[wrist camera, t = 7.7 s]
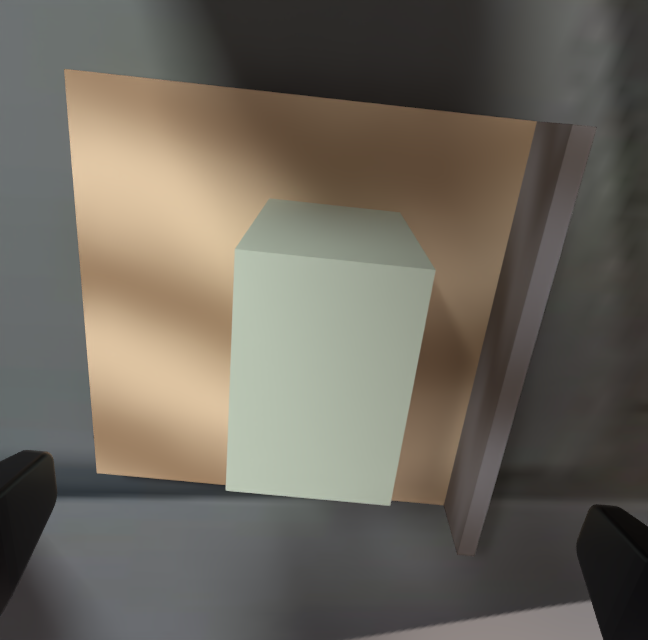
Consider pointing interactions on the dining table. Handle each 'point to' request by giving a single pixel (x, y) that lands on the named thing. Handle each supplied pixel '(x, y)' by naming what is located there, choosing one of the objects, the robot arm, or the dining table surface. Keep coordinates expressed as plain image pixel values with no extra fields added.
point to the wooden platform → (322, 188)
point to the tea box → (324, 351)
